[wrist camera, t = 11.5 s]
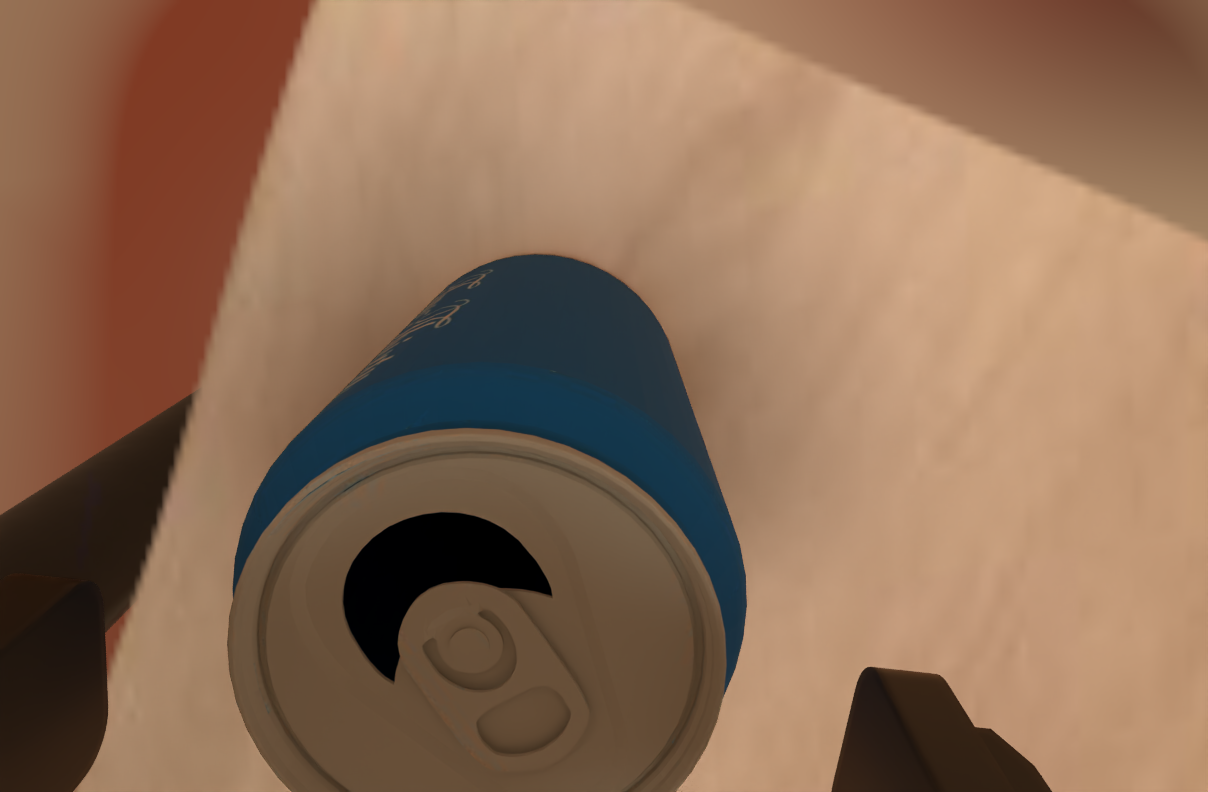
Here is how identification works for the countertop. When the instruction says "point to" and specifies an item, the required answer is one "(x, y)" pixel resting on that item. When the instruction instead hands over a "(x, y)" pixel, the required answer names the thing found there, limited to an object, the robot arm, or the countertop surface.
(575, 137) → the countertop surface
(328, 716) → the beverage can
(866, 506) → the countertop surface
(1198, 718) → the countertop surface
